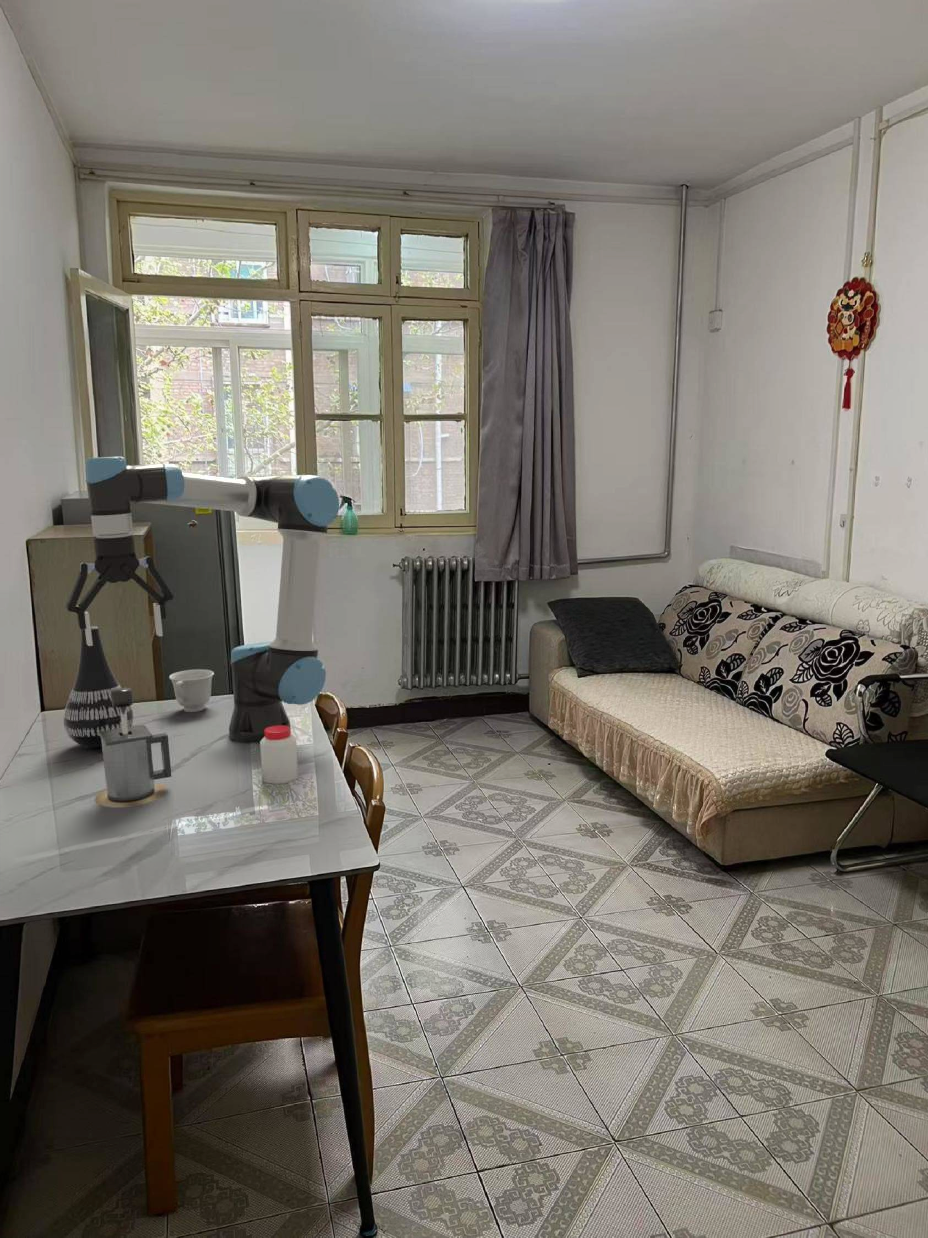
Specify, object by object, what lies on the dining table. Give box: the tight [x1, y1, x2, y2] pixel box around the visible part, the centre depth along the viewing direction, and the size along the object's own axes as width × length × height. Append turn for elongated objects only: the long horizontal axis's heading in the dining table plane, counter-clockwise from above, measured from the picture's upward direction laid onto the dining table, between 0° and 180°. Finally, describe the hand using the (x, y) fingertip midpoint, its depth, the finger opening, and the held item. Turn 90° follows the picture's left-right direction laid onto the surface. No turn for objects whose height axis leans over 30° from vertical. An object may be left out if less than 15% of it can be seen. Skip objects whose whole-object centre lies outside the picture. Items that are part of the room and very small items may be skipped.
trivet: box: [94, 782, 168, 808], centre depth 191 cm, size 14×14×1 cm
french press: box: [99, 724, 172, 803], centre depth 190 cm, size 13×9×13 cm
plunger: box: [111, 687, 134, 735], centre depth 188 cm, size 7×7×19 cm
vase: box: [63, 625, 134, 751], centre depth 224 cm, size 16×16×30 cm
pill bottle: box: [259, 725, 299, 785], centre depth 200 cm, size 8×8×11 cm
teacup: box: [168, 668, 215, 713], centre depth 254 cm, size 12×15×10 cm
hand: (125, 640), depth 187 cm, fingers open, 13 cm apart
